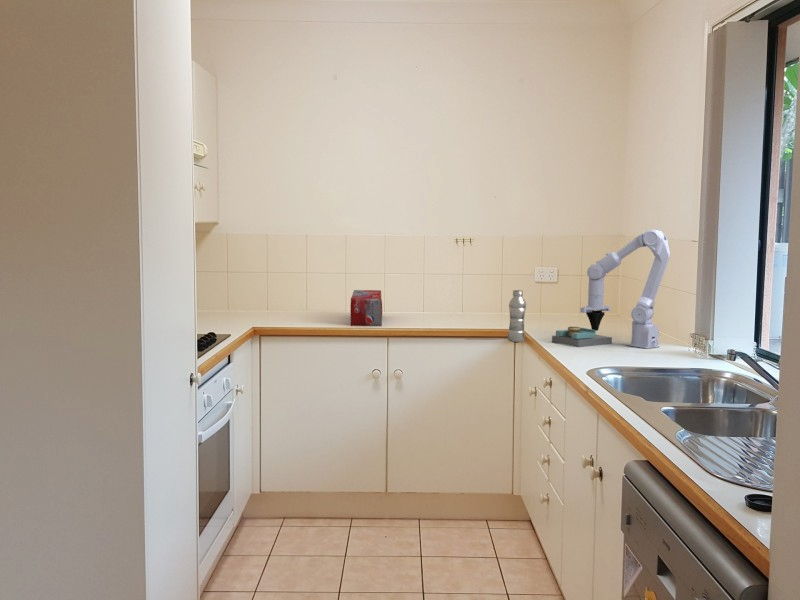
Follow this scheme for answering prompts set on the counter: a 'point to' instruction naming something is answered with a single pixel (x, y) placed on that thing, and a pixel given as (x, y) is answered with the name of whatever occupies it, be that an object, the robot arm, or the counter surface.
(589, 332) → the keeper plate
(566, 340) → the housing
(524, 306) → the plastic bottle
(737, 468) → the counter surface
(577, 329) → the pin
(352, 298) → the soda box
